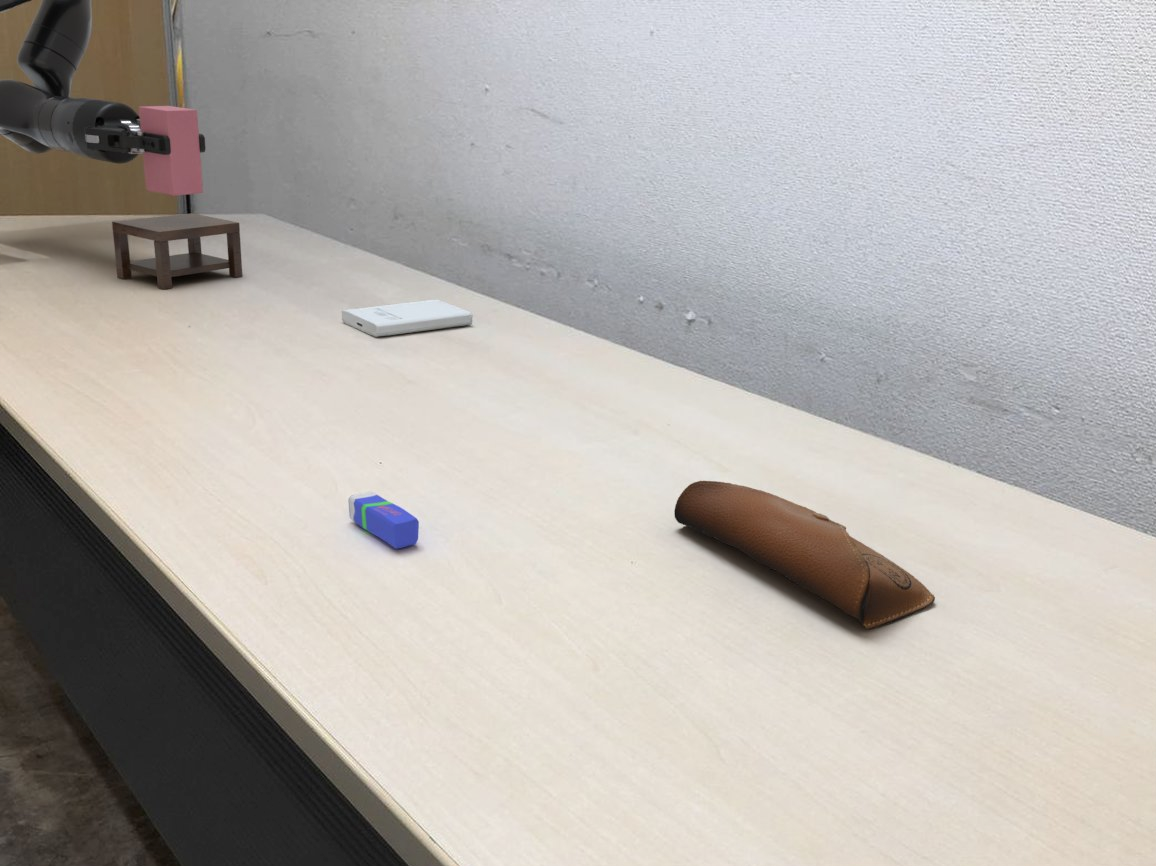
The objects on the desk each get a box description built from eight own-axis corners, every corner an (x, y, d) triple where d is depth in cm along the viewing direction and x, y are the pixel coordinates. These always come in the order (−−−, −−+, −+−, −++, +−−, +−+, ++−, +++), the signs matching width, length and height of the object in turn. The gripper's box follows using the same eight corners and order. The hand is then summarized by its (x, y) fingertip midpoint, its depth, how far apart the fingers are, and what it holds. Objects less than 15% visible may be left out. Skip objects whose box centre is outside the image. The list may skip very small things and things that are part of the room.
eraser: (373, 515, 79) (373, 488, 79) (419, 545, 75) (419, 517, 75) (348, 521, 78) (347, 494, 77) (393, 552, 74) (393, 524, 73)
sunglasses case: (946, 595, 72) (927, 524, 68) (877, 668, 70) (852, 600, 66) (755, 500, 85) (729, 436, 81) (691, 560, 83) (661, 497, 79)
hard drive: (472, 326, 131) (377, 338, 123) (435, 311, 137) (341, 321, 129) (472, 312, 130) (377, 323, 123) (435, 298, 136) (341, 307, 128)
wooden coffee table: (164, 289, 137) (159, 232, 135) (117, 277, 142) (111, 221, 139) (242, 276, 147) (239, 222, 145) (196, 265, 151) (192, 213, 149)
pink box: (173, 195, 137) (166, 110, 134) (146, 190, 140) (138, 106, 136) (203, 193, 141) (197, 109, 137) (176, 187, 143) (169, 105, 140)
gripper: (41, 100, 138) (131, 113, 130) (143, 98, 149) (231, 111, 141) (49, 163, 140) (137, 180, 133) (148, 156, 152) (235, 172, 144)
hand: (185, 144), depth 137 cm, fingers closed on pink box, 4 cm apart
